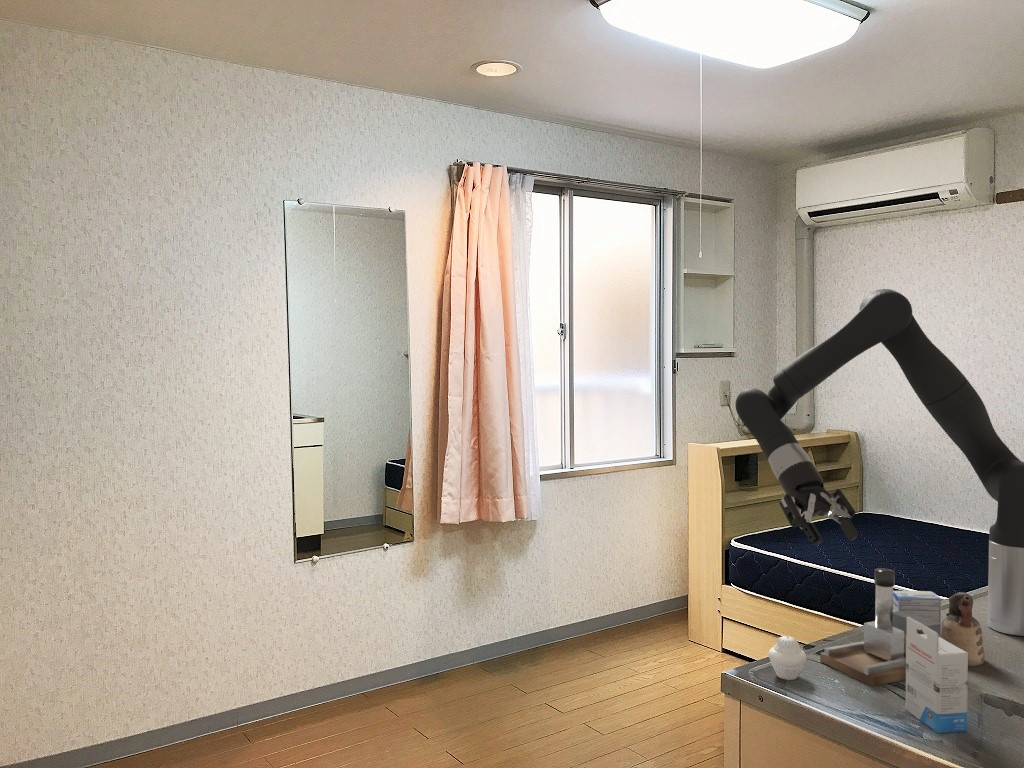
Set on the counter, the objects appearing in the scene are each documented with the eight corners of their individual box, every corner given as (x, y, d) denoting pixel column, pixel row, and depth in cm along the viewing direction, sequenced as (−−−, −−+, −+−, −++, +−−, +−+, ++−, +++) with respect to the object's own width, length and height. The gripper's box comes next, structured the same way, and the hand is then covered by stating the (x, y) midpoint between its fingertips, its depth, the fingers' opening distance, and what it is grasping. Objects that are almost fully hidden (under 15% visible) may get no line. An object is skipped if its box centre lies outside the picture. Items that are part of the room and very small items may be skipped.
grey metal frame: (898, 640, 154) (898, 608, 153) (944, 659, 144) (945, 625, 144) (824, 654, 147) (824, 621, 147) (868, 675, 138) (868, 639, 138)
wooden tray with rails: (896, 646, 155) (896, 619, 155) (951, 669, 144) (952, 640, 144) (820, 661, 148) (820, 633, 148) (872, 686, 137) (873, 656, 137)
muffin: (808, 672, 143) (808, 632, 143) (804, 686, 137) (804, 644, 137) (770, 667, 146) (770, 627, 145) (765, 679, 140) (765, 639, 140)
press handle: (876, 648, 149) (878, 565, 148) (904, 659, 144) (905, 573, 143) (863, 650, 148) (864, 567, 147) (890, 662, 142) (891, 575, 142)
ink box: (968, 732, 121) (970, 632, 120) (936, 734, 120) (938, 633, 119) (934, 707, 129) (935, 613, 128) (903, 708, 129) (905, 614, 128)
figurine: (980, 653, 151) (981, 588, 150) (988, 668, 144) (989, 600, 144) (936, 649, 153) (937, 585, 153) (942, 663, 147) (943, 596, 146)
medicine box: (931, 634, 161) (932, 590, 161) (941, 643, 157) (942, 597, 156) (889, 633, 162) (890, 589, 162) (897, 641, 158) (898, 596, 157)
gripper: (775, 462, 160) (817, 533, 151) (832, 457, 166) (876, 526, 156) (757, 485, 166) (796, 555, 156) (813, 479, 171) (855, 547, 161)
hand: (836, 540), depth 156 cm, fingers open, 8 cm apart
